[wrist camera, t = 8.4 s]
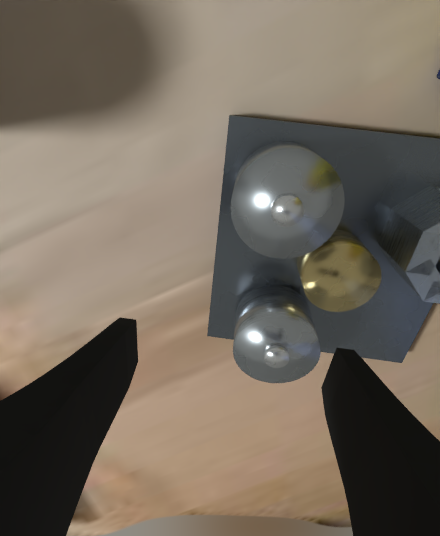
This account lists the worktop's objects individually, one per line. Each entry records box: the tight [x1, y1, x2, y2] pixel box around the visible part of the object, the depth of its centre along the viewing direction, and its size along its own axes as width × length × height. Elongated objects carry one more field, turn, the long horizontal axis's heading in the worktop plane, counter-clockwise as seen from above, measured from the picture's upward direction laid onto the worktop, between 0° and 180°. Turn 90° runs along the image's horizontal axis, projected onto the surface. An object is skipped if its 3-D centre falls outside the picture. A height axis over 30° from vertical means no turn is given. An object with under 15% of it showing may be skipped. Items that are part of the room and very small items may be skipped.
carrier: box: [207, 115, 440, 383], centre depth 17 cm, size 14×14×5 cm
